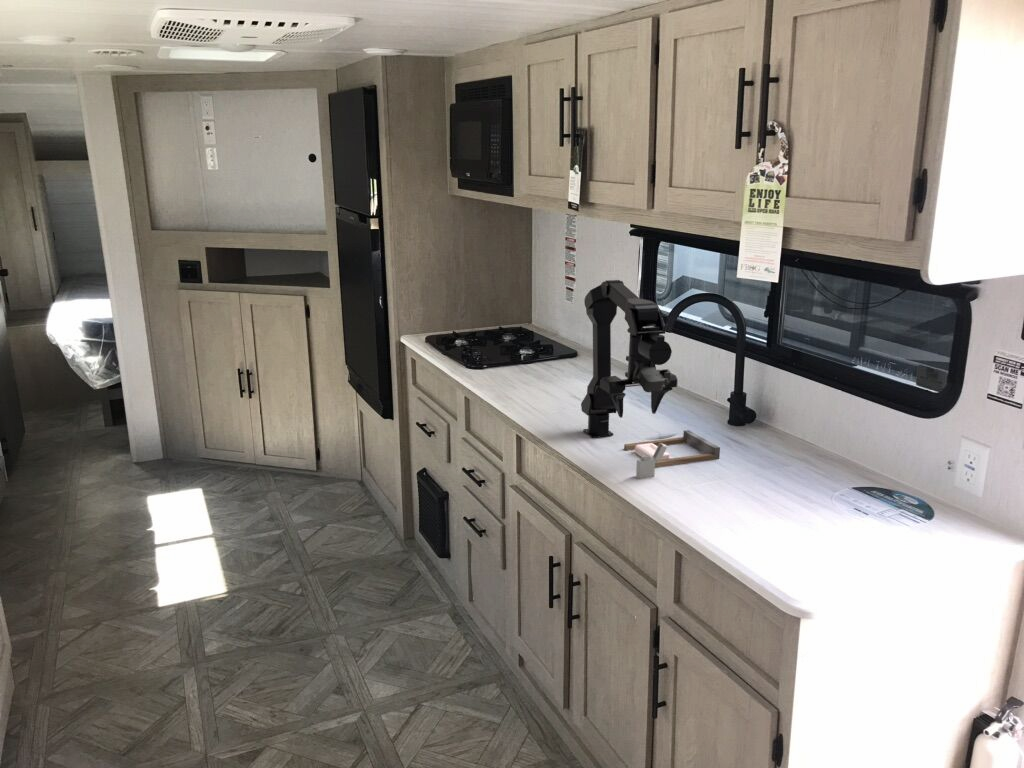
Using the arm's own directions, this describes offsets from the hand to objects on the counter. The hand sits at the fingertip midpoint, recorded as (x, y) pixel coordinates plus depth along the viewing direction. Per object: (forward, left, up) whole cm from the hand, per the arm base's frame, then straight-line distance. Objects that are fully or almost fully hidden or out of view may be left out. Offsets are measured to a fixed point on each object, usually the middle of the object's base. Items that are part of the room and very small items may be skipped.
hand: (637, 415), depth 213 cm
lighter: (+9, -1, -13) cm, 16 cm away
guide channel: (-3, +11, -13) cm, 17 cm away
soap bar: (-3, +6, -13) cm, 15 cm away
